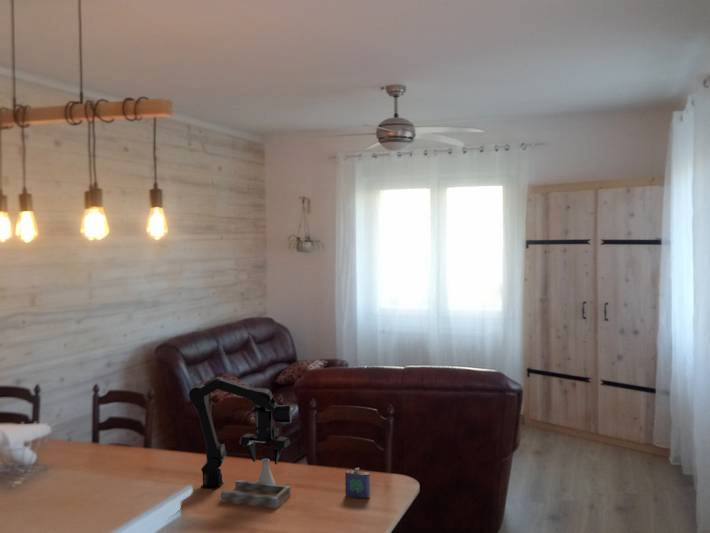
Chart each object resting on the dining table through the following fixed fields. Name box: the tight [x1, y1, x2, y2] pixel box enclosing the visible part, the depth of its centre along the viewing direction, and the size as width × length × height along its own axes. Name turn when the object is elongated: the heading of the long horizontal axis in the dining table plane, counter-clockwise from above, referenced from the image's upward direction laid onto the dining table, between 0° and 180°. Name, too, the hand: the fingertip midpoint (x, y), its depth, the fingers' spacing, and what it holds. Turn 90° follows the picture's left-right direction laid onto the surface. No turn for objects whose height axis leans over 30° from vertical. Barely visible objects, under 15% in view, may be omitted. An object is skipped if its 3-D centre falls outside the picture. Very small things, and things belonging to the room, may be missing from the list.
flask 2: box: [344, 467, 371, 500], centre depth 232 cm, size 9×3×11 cm, turn 74°
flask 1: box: [257, 458, 276, 484], centre depth 243 cm, size 7×7×10 cm
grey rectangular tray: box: [220, 479, 292, 510], centre depth 231 cm, size 22×12×4 cm, turn 72°
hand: (265, 463), depth 243 cm, fingers open, 9 cm apart
